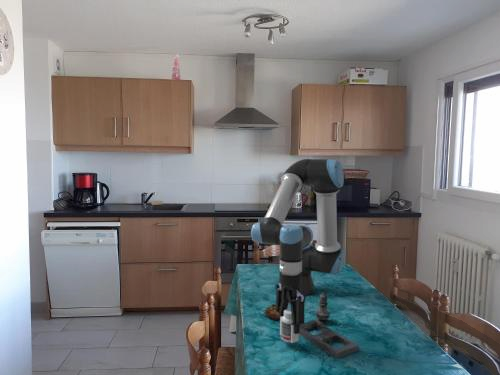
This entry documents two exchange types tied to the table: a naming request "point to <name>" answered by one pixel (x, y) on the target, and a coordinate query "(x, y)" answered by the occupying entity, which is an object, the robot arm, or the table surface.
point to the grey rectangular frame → (328, 339)
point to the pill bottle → (286, 325)
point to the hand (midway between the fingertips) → (289, 337)
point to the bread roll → (272, 313)
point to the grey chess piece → (323, 310)
